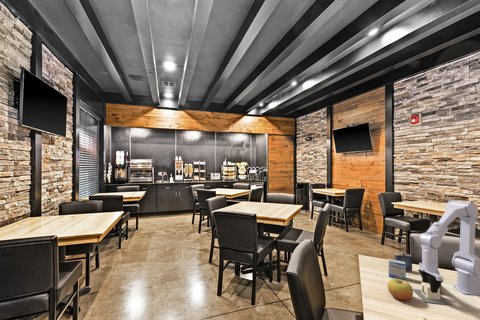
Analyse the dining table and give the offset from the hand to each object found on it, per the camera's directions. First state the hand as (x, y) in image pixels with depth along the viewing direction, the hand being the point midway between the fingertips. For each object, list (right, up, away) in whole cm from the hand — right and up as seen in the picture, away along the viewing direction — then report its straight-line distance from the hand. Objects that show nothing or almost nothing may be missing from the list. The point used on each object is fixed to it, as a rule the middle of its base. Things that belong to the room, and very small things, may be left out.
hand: (430, 289), depth 108 cm
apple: (-14, -4, 0) cm, 15 cm away
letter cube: (0, -3, 0) cm, 3 cm away
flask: (+7, -5, +28) cm, 29 cm away
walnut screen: (+8, -4, +8) cm, 12 cm away
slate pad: (0, -4, 0) cm, 4 cm away
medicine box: (-2, -4, +20) cm, 20 cm away
